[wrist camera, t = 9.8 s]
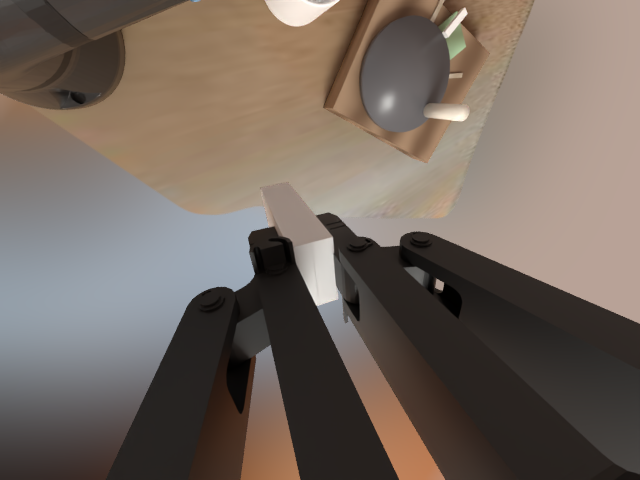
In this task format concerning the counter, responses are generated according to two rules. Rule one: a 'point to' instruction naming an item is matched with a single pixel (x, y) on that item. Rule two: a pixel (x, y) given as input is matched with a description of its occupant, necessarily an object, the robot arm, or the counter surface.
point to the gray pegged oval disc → (409, 74)
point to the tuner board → (465, 64)
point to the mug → (298, 10)
